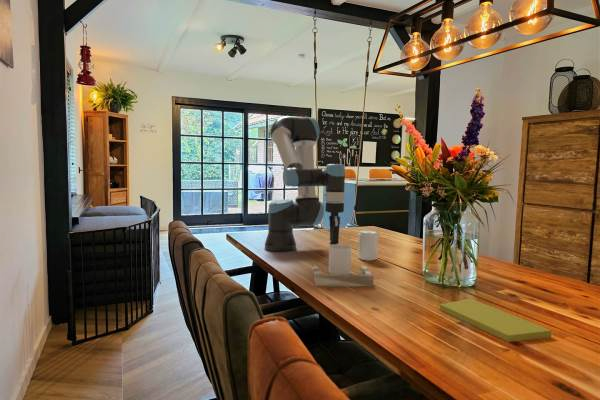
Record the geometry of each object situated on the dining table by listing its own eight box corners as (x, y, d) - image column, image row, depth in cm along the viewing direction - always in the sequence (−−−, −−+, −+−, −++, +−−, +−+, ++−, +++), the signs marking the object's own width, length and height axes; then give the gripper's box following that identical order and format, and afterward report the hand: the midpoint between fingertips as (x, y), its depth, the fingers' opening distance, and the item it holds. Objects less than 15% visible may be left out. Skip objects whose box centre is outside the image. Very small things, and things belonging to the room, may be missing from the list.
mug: (321, 268, 152) (321, 242, 151) (340, 267, 154) (341, 241, 153) (334, 277, 140) (334, 249, 139) (354, 275, 143) (355, 248, 142)
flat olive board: (439, 311, 111) (517, 348, 89) (440, 304, 110) (517, 339, 89) (470, 305, 116) (550, 339, 94) (470, 298, 116) (551, 330, 94)
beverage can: (356, 260, 166) (357, 232, 165) (360, 255, 173) (361, 229, 172) (375, 262, 163) (376, 234, 162) (378, 257, 170) (379, 230, 169)
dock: (312, 275, 143) (312, 265, 143) (365, 275, 144) (365, 265, 144) (315, 286, 130) (315, 276, 130) (373, 286, 131) (373, 276, 131)
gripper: (323, 200, 163) (322, 255, 165) (327, 203, 150) (326, 263, 152) (341, 200, 163) (340, 255, 165) (346, 204, 150) (345, 263, 152)
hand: (333, 259), depth 159 cm, fingers closed
